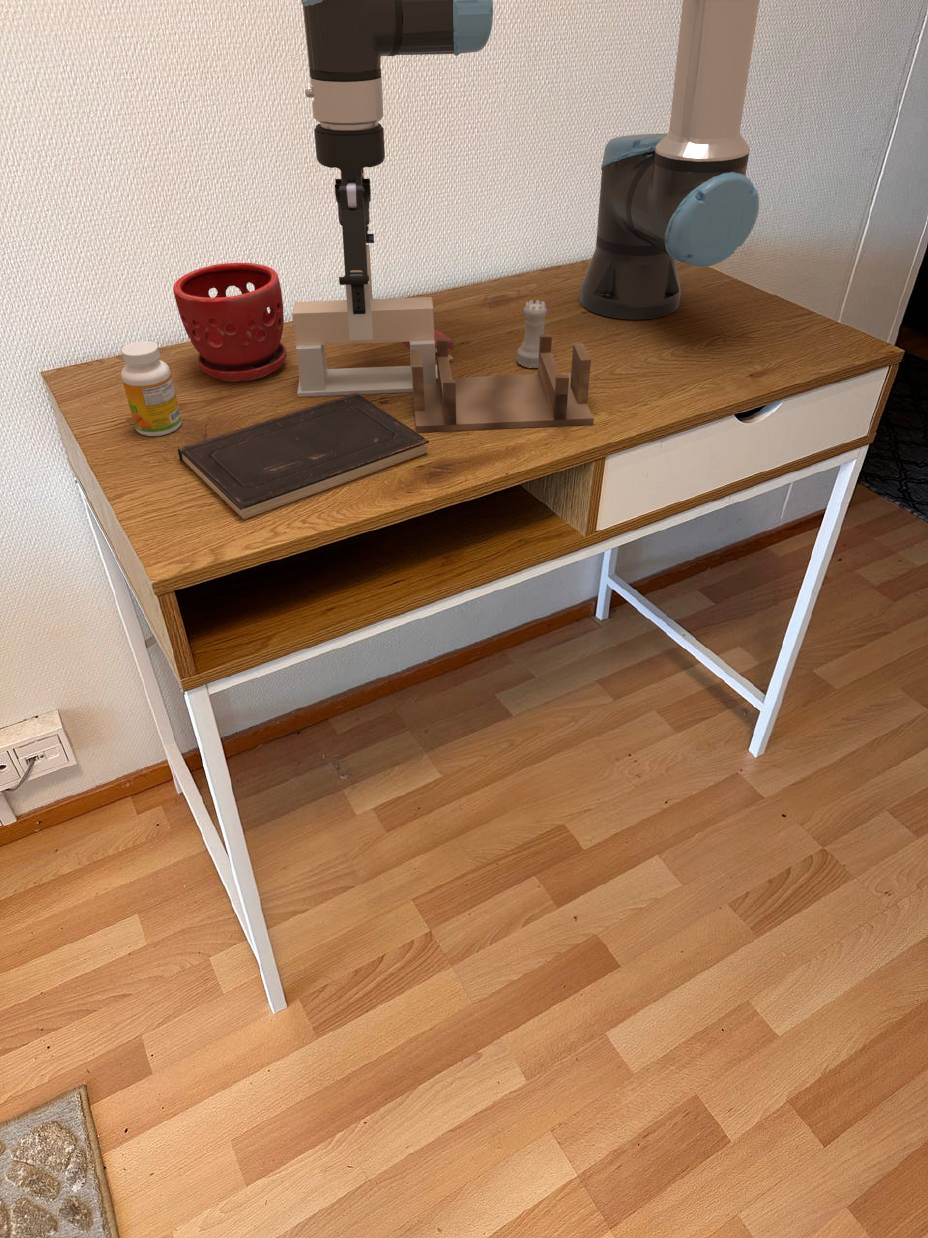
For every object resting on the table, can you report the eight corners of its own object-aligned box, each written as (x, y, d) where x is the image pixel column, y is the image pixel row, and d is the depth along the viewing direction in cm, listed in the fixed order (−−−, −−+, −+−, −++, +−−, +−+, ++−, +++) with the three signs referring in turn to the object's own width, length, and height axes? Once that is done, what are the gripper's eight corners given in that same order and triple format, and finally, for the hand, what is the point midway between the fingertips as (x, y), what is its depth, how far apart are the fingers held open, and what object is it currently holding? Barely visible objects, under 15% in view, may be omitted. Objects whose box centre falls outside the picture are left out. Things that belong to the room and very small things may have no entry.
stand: (436, 368, 117) (435, 323, 113) (440, 390, 112) (439, 344, 108) (301, 373, 116) (295, 329, 112) (297, 396, 110) (291, 350, 107)
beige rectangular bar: (432, 328, 112) (431, 296, 109) (434, 340, 109) (433, 308, 106) (298, 333, 111) (294, 301, 108) (296, 345, 108) (292, 313, 105)
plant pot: (215, 346, 123) (198, 258, 116) (304, 352, 121) (293, 263, 114) (174, 385, 113) (153, 292, 106) (271, 393, 111) (256, 298, 104)
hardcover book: (429, 458, 99) (428, 439, 98) (243, 526, 89) (239, 507, 87) (355, 407, 109) (354, 390, 108) (180, 463, 99) (176, 445, 97)
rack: (573, 378, 114) (577, 330, 110) (593, 424, 104) (597, 373, 100) (412, 385, 113) (409, 337, 109) (416, 432, 103) (414, 381, 99)
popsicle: (432, 358, 117) (386, 321, 127) (433, 369, 118) (386, 332, 128) (468, 350, 119) (419, 315, 129) (468, 361, 120) (419, 325, 130)
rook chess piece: (524, 353, 120) (527, 295, 115) (554, 359, 119) (558, 300, 114) (510, 365, 117) (512, 306, 112) (541, 372, 116) (544, 311, 111)
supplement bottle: (130, 422, 105) (109, 344, 99) (175, 412, 107) (157, 335, 101) (141, 441, 102) (120, 360, 96) (187, 430, 104) (169, 351, 98)
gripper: (318, 102, 104) (334, 284, 118) (307, 147, 85) (327, 358, 98) (382, 102, 105) (390, 283, 118) (384, 146, 85) (394, 356, 99)
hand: (361, 317), depth 108 cm, fingers open, 13 cm apart
